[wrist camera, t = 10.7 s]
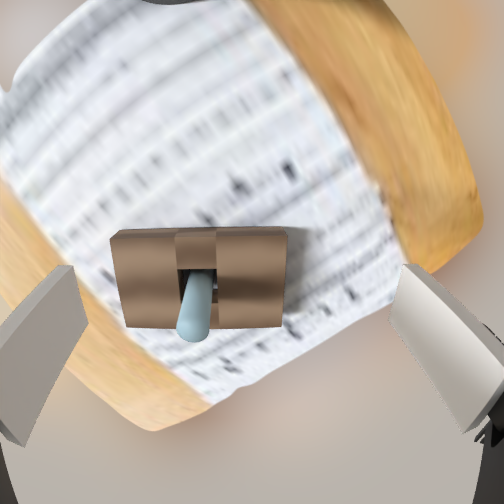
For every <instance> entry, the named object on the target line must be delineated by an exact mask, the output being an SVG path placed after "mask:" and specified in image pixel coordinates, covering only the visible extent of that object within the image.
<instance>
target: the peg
mask: <svg viewBox="0 0 504 504" xmlns="http://www.w3.org/2000/svg"><path fill="white" fill-rule="evenodd" d="M213 279H214V271H213V269H191V271H190V274H189V278H188V282H187V286H186V290H185V293H184V297H183V301H182V305H181V309H180V313H179V317H178V321H177V326H176V330H177V333H178V335H179V336H180V337H181V338H182V339H184V340H186V341H188V342H200V341H202V340H204V339H205V338H206V337H207V336H208V334H209V327H210V314H211V302H212V290H213Z"/></svg>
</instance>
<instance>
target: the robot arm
mask: <svg viewBox="0 0 504 504" xmlns="http://www.w3.org/2000/svg"><path fill="white" fill-rule="evenodd" d="M143 1H146V2H149V3H154V4H178V3H184V2H189V1H193V0H143ZM388 321H389V322H390V324H391V325H392V326H393V328H394V329H395V331H396V332H397V333H398V335H399V336H400V338H401V339H402V341H403V342H404V343H405V345H406V346H407V347H408V349H409V351H410V352H411V353H412V355H413V356H414V358H415V359H416V361H417V362H418V364H419V365H420V367H421V368H422V370H423V371H424V373H425V374H426V376H427V377H428V379H429V380H430V382H431V383H432V385H433V387H434V388H435V390H436V391H437V393H438V394H439V396H440V398H441V399H442V401H443V402H444V404H445V405H446V407H447V409H448V410H449V412H450V413H451V415H452V417H453V419H454V420H455V422H456V424H457V425H458V427H459V429H460V431H461V432H462V434H463V433H466V432H468V431H470V430H471V429H474V428H476V427H477V426H478V425H479V424H480V423H481V422H482V420H483V419H484V418H485V417H486V415H488V416H489V418H490V421H489V422H488V423H487V424H486V426H485V427H484V428H483V429H482V430H481V431H480V432H479V434H478V435H477V436H476V438H475V440H474V442H477V441H478V440H479V439H480V438H481V437H482V435H483V434H485V437H484V438H483V439H482V440H481V441H480V443H482V444H484V447H483V454H482V460H481V467H480V472H479V477H478V482H477V487H476V491H475V495H474V499H473V503H472V504H504V344H503V343H501V340H500V339H499V338H497V336H496V337H495V334H494V333H493V332H492V331H491V330H490V329H489V328H488V327H487V326H486V325H484V324H483V323H481V322H480V321H479V320H478V319H477V318H476V317H475V316H474V315H473V314H472V313H471V312H470V311H469V310H468V309H467V308H466V307H465V306H464V305H462V303H461V302H459V301H458V300H457V299H456V298H455V297H454V296H453V295H452V294H451V293H450V292H449V291H448V290H447V289H445V288H444V287H443V286H442V285H441V284H440V283H439V282H438V281H437V280H435V279H434V278H433V277H432V276H431V275H430V274H429V273H427V272H426V271H425V270H424V269H423V268H422V267H420V266H419V265H418V264H403V267H402V271H401V275H400V279H399V283H398V286H397V290H396V294H395V297H394V301H393V304H392V308H391V311H390V314H389V318H388ZM87 325H88V320H87V317H86V313H85V310H84V307H83V303H82V299H81V296H80V292H79V288H78V284H77V280H76V276H75V272H74V268H73V266H68V265H58V266H57V267H56V268H55V269H54V270H53V271H52V272H51V273H50V274H49V275H48V276H47V277H46V278H45V279H44V280H43V281H42V282H41V283H40V284H39V285H38V286H37V287H36V288H35V289H34V290H33V291H32V292H31V293H30V294H29V295H28V296H27V297H26V298H25V299H24V300H23V301H22V302H21V303H20V304H19V305H18V307H17V308H16V309H15V310H14V311H13V312H12V313H11V314H10V315H9V317H8V318H7V319H6V320H5V321H4V322H3V323H2V325H1V326H0V432H1V433H2V434H3V435H4V436H5V437H6V439H7V440H9V441H11V442H13V443H15V444H17V445H20V446H22V447H25V445H26V443H27V441H28V438H29V436H30V434H31V431H32V429H33V427H34V425H35V423H36V420H37V418H38V416H39V414H40V412H41V410H42V408H43V406H44V403H45V401H46V399H47V397H48V395H49V393H50V391H51V389H52V387H53V386H54V384H55V381H56V380H57V378H58V376H59V374H60V372H61V370H62V368H63V367H64V365H65V363H66V361H67V359H68V358H69V356H70V354H71V352H72V351H73V349H74V347H75V345H76V344H77V342H78V340H79V338H80V337H81V335H82V333H83V332H84V330H85V328H86V327H87ZM0 504H18V502H17V499H16V496H15V493H14V491H13V487H12V484H11V481H10V478H9V474H8V471H7V468H6V464H5V460H4V456H3V452H2V449H1V443H0Z"/></svg>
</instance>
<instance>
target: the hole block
mask: <svg viewBox="0 0 504 504" xmlns="http://www.w3.org/2000/svg"><path fill="white" fill-rule="evenodd" d="M110 245H111V252H112V258H113V264H114V270H115V275H116V281H117V286H118V291H119V296H120V301H121V305H122V310H123V314H124V318H125V323H126V327H131V328H158V329H176V326H177V321H178V317H179V313H180V309H181V305H182V301H183V297H184V293H185V290H184V280H183V269H217V286H218V289H215V290H212V302H211V314H210V327H209V329H242V328H270V327H281V326H282V313H283V300H284V285H285V270H286V253H287V234H286V233H285V231H284V229H283V228H282V227H212V228H167V229H135V230H119V231H118V232H117V233H116V234H115V235H114V236H113V237H111V238H110Z"/></svg>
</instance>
